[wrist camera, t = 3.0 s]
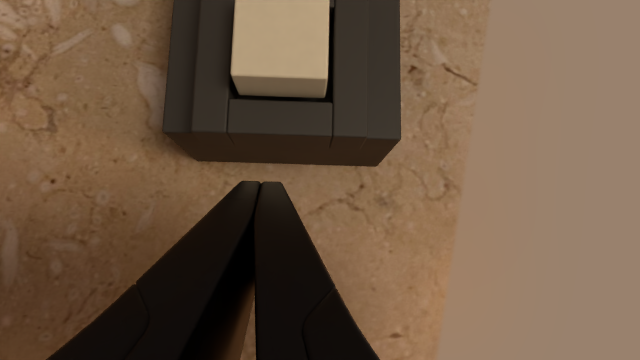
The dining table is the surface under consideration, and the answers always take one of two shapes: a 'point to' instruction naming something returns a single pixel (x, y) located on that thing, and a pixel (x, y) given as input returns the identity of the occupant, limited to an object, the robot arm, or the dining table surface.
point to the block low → (286, 112)
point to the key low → (280, 47)
